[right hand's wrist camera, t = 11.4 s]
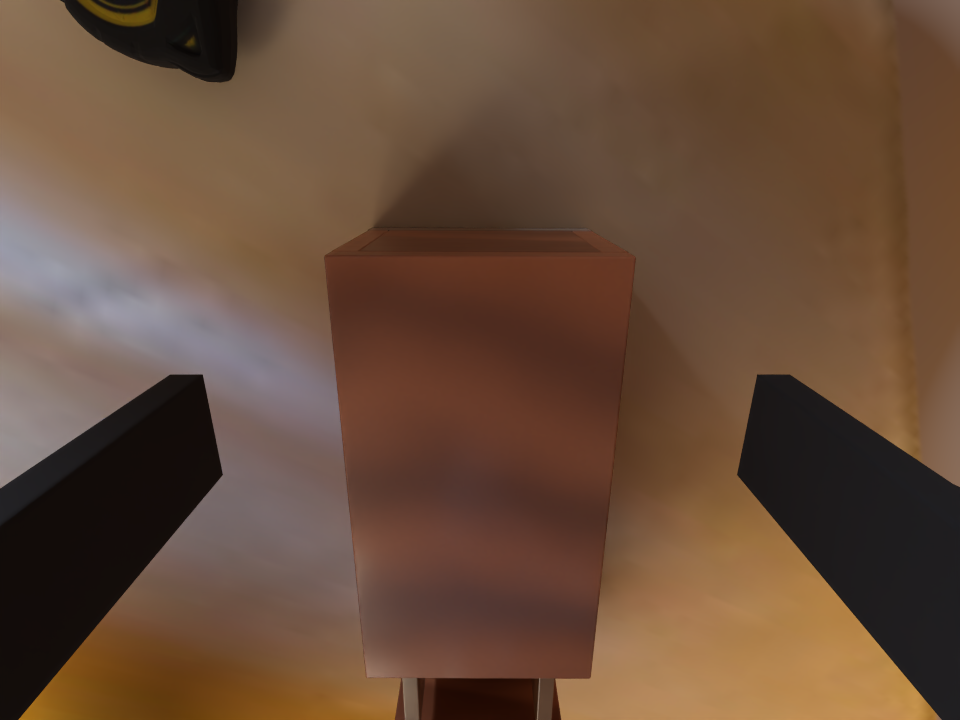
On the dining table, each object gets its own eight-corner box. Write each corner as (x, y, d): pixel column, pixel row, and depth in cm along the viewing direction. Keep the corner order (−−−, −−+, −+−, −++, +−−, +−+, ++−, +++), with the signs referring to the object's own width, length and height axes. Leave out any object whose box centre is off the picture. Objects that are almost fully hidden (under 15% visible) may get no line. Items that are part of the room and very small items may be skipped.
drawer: (545, 719, 37) (559, 833, 30) (410, 719, 37) (396, 832, 30) (567, 405, 28) (591, 473, 22) (391, 404, 28) (366, 472, 22)
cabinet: (563, 553, 33) (591, 679, 25) (393, 552, 33) (365, 678, 25) (587, 228, 26) (636, 256, 18) (372, 227, 26) (322, 254, 18)
